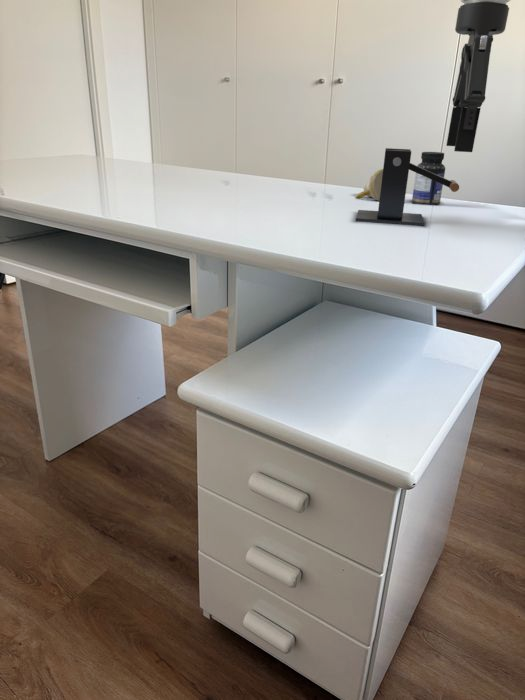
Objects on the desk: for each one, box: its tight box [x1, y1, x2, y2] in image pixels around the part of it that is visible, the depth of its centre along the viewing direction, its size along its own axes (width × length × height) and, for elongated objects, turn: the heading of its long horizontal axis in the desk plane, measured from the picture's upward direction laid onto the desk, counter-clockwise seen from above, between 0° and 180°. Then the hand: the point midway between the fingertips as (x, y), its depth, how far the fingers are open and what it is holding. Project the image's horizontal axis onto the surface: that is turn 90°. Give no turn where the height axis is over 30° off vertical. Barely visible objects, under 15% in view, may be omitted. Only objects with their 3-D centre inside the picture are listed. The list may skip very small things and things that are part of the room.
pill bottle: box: [411, 151, 446, 207], centre depth 118 cm, size 6×6×11 cm
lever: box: [409, 162, 460, 193], centre depth 95 cm, size 13×5×2 cm, turn 77°
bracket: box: [355, 147, 425, 227], centre depth 97 cm, size 12×9×13 cm
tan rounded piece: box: [354, 168, 383, 202], centre depth 123 cm, size 8×10×10 cm
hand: (458, 149), depth 93 cm, fingers open, 13 cm apart
